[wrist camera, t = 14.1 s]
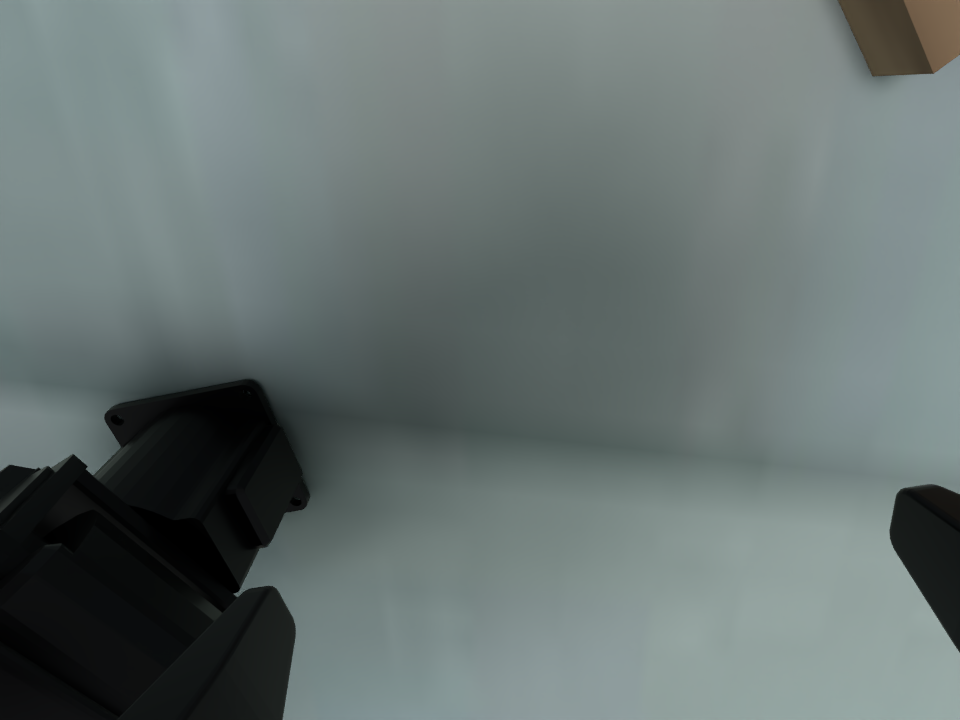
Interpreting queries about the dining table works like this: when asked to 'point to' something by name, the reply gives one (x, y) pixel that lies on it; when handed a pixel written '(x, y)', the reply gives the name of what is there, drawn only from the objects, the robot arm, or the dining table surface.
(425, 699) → the dining table surface
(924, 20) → the walnut slab
